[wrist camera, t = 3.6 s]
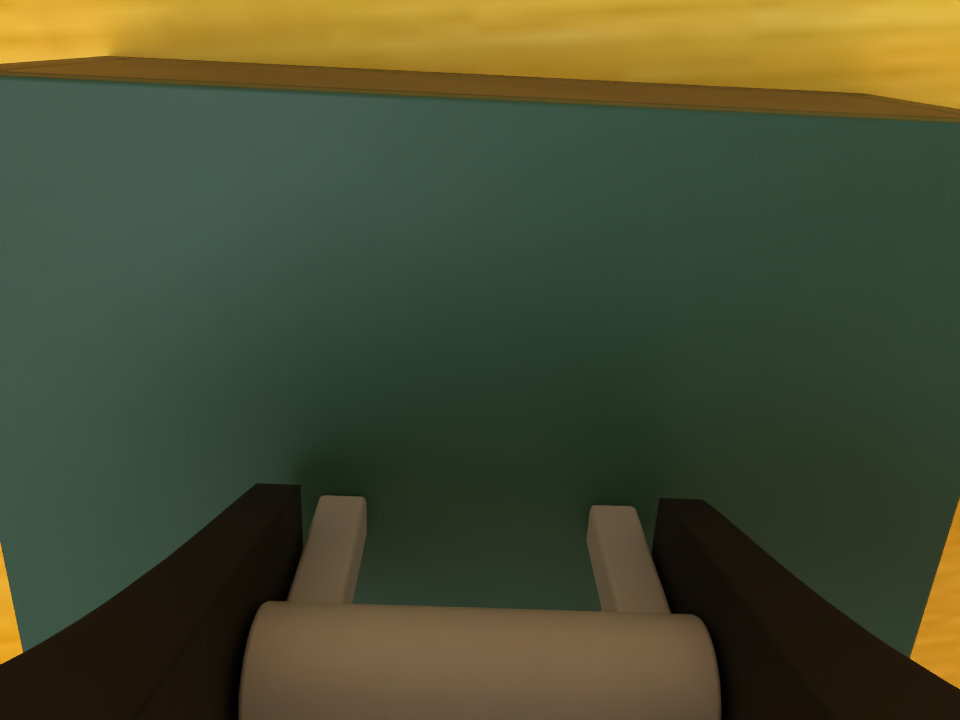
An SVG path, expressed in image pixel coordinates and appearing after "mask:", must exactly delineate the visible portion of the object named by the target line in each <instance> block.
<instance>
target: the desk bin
mask: <svg viewBox="0 0 960 720" xmlns="http://www.w3.org/2000/svg"><path fill="white" fill-rule="evenodd" d="M0 72H9V73H29V74H50V75H70V76H90V77H111V78H131V79H152V80H172V81H192V82H213V83H233V84H254V85H274V86H295V87H315V88H335V89H356V90H376V91H397V92H417V93H438V94H458V95H478V96H499V97H519V98H540V99H560V100H581V101H601V102H621V103H642V104H662V105H683V106H703V107H724V108H744V109H764V110H785V111H805V112H826V113H846V114H867V115H887V116H907V117H928V118H948V119H960V109H954V108H948V107H942V106H936V105H930V104H924V103H918V102H912V101H905V100H899V99H893V98H887V97H881V96H876V95H870V94H861V93H841V92H821V91H801V90H780V89H760V88H740V87H720V86H700V85H680V84H660V83H639V82H619V81H599V80H579V79H559V78H539V77H519V76H498V75H478V74H458V73H438V72H418V71H398V70H378V69H358V68H337V67H317V66H297V65H277V64H257V63H237V62H217V61H196V60H176V59H156V58H136V57H116V56H100V57H88V58H74V59H61V60H47V61H34V62H20V63H7V64H0Z"/></svg>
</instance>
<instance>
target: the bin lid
mask: <svg viewBox="0 0 960 720" xmlns="http://www.w3.org/2000/svg"><path fill="white" fill-rule="evenodd" d="M256 483H267V484H294V485H301V501H302V526H303V551H302V554H301V557H300V560H299V563H298V566H297V570H296V573H295V576H294V579H293V582H292V585H291V588H290V591H289V594H288V597H287V601H268V602H265V603H263V604H262V605H261V606H260V607H259V609H258V611H257V613H256V615H255V617H254V619H253V622H252V625H251V628H250V631H249V634H248V638H247V642H246V646H245V651H244V656H243V662H242V669H241V676H240V685H239V698H238V720H721V712H722V704H721V685H720V676H719V669H718V663H717V658H716V654H715V650H714V646H713V643H712V640H711V637H710V634H709V632H708V629H707V627H706V625H705V624H704V622H703V621H702V620H701V619H700V618H699V617H697V616H695V615H692V614H671V611H670V608H669V605H668V602H667V599H666V596H665V593H664V590H663V587H662V584H661V582H660V579H659V576H658V573H657V570H656V567H655V564H654V561H653V558H652V555H651V551H652V544H653V538H654V531H655V524H656V518H657V511H658V505H659V498H679V499H703V500H704V501H706V502H707V503H708V504H710V505H711V506H712V507H714V508H715V509H716V510H717V511H719V512H720V513H721V514H722V515H723V516H725V517H726V518H727V519H728V520H729V521H730V522H732V523H733V524H734V525H735V526H736V527H738V528H739V529H740V530H741V531H742V532H743V533H745V534H746V535H747V536H748V537H749V538H750V539H752V540H753V541H754V542H755V543H756V544H757V545H759V546H760V547H761V548H762V549H763V550H764V551H766V552H767V553H768V554H769V555H770V556H772V557H773V558H774V559H775V560H776V561H778V562H779V563H780V564H781V565H782V566H784V567H785V568H786V569H787V570H788V571H790V572H791V573H792V574H793V575H795V576H796V577H797V578H798V579H800V580H801V581H802V582H803V583H805V584H806V585H807V586H808V587H810V588H811V589H812V590H813V591H815V592H816V593H817V594H819V595H820V596H821V597H822V598H824V599H825V600H826V601H828V602H829V603H830V604H832V605H833V606H834V607H836V608H837V609H838V610H840V611H841V612H843V613H844V614H845V615H847V616H848V617H849V618H851V619H852V620H854V621H855V622H856V623H858V624H859V625H860V626H862V627H863V628H864V629H866V630H867V631H869V632H870V633H871V634H873V635H874V636H876V637H877V638H879V639H880V640H882V641H883V642H885V643H886V644H888V645H889V646H891V647H892V648H894V649H895V650H897V651H898V652H900V653H902V654H903V655H905V656H906V657H908V658H910V655H911V652H912V649H913V646H914V643H915V639H916V636H917V633H918V630H919V626H920V623H921V620H922V617H923V614H924V610H925V607H926V604H927V601H928V598H929V594H930V591H931V588H932V585H933V581H934V578H935V575H936V572H937V569H938V565H939V562H940V559H941V556H942V553H943V549H944V546H945V543H946V540H947V537H948V533H949V530H950V527H951V524H952V520H953V517H954V514H955V511H956V508H957V504H958V501H959V498H960V119H948V118H928V117H907V116H887V115H867V114H846V113H826V112H805V111H785V110H764V109H744V108H724V107H703V106H683V105H662V104H642V103H621V102H601V101H581V100H560V99H540V98H519V97H499V96H478V95H458V94H438V93H417V92H397V91H376V90H356V89H335V88H315V87H295V86H274V85H254V84H233V83H213V82H192V81H172V80H152V79H131V78H111V77H90V76H70V75H50V74H29V73H9V72H0V542H1V547H2V552H3V557H4V561H5V566H6V571H7V576H8V581H9V586H10V591H11V595H12V600H13V605H14V610H15V615H16V620H17V624H18V629H19V634H20V639H21V644H22V649H23V653H24V652H25V651H27V650H29V649H31V648H33V647H34V646H36V645H38V644H39V643H41V642H43V641H44V640H46V639H48V638H49V637H51V636H53V635H54V634H56V633H58V632H59V631H61V630H63V629H64V628H66V627H68V626H69V625H71V624H73V623H74V622H76V621H77V620H79V619H81V618H82V617H84V616H85V615H87V614H88V613H90V612H91V611H93V610H95V609H96V608H98V607H99V606H101V605H102V604H104V603H105V602H106V601H108V600H109V599H111V598H112V597H114V596H115V595H116V594H118V593H119V592H120V591H122V590H123V589H125V588H126V587H127V586H129V585H130V584H131V583H133V582H134V581H135V580H137V579H138V578H140V577H141V576H142V575H144V574H145V573H146V572H148V571H149V570H151V569H152V568H153V567H155V566H156V565H157V564H159V563H160V562H161V561H163V560H164V559H166V558H167V557H168V556H169V555H171V554H172V553H173V552H174V551H176V550H177V549H178V548H179V547H180V546H182V545H183V544H184V543H185V542H187V541H188V540H189V539H190V538H192V537H193V536H194V535H195V534H196V533H198V532H199V531H200V530H201V529H202V528H204V527H205V526H206V525H207V524H208V523H210V522H211V521H212V520H213V519H214V518H216V517H217V516H218V515H219V514H220V513H221V512H223V511H224V510H225V509H226V508H227V507H229V506H230V505H231V504H232V503H233V502H234V501H236V500H237V499H238V498H239V497H240V496H242V495H243V494H244V493H245V492H246V491H247V490H249V489H250V488H251V487H253V486H254V485H255V484H256Z"/></svg>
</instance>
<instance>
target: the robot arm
mask: <svg viewBox="0 0 960 720" xmlns="http://www.w3.org/2000/svg"><path fill="white" fill-rule="evenodd" d="M302 551H303V526H302V501H301V485H294V484H267V483H256V484H255V485H254V486H253V487H251V488H250V489H249V490H247V491H246V492H245V493H244V494H243V495H242V496H240V497H239V498H238V499H237V500H236V501H234V502H233V503H232V504H231V505H230V506H229V507H227V508H226V509H225V510H224V511H223V512H221V513H220V514H219V515H218V516H217V517H216V518H214V519H213V520H212V521H211V522H210V523H208V524H207V525H206V526H205V527H204V528H202V529H201V530H200V531H199V532H198V533H196V534H195V535H194V536H193V537H192V538H190V539H189V540H188V541H187V542H185V543H184V544H183V545H182V546H180V547H179V548H178V549H177V550H176V551H174V552H173V553H172V554H171V555H169V556H168V557H167V558H166V559H164V560H163V561H161V562H160V563H159V564H157V565H156V566H155V567H153V568H152V569H151V570H149V571H148V572H146V573H145V574H144V575H142V576H141V577H140V578H138V579H137V580H135V581H134V582H133V583H131V584H130V585H129V586H127V587H126V588H125V589H123V590H122V591H120V592H119V593H118V594H116V595H115V596H114V597H112V598H111V599H109V600H108V601H106V602H105V603H104V604H102V605H101V606H99V607H98V608H96V609H95V610H93V611H91V612H90V613H88V614H87V615H85V616H84V617H82V618H81V619H79V620H77V621H76V622H74V623H73V624H71V625H69V626H68V627H66V628H64V629H63V630H61V631H59V632H58V633H56V634H54V635H53V636H51V637H49V638H48V639H46V640H44V641H43V642H41V643H39V644H38V645H36V646H34V647H33V648H31V649H29V650H27V651H25V652H24V653H22V654H20V655H18V656H16V657H14V658H12V659H10V660H9V661H7V662H5V663H3V664H1V665H0V720H238V698H239V685H240V676H241V669H242V662H243V656H244V651H245V646H246V642H247V638H248V634H249V631H250V628H251V625H252V622H253V619H254V617H255V615H256V613H257V611H258V609H259V607H260V606H261V605H262V604H263V603H265V602H268V601H287V597H288V594H289V591H290V588H291V585H292V582H293V579H294V576H295V573H296V570H297V566H298V563H299V560H300V557H301V554H302ZM651 555H652V558H653V561H654V564H655V567H656V570H657V573H658V576H659V579H660V582H661V584H662V587H663V590H664V593H665V596H666V599H667V602H668V605H669V608H670V611H671V614H692V615H695V616H697V617H699V618H700V619H701V620H702V621H703V622H704V624H705V625H706V627H707V629H708V632H709V634H710V637H711V640H712V643H713V646H714V650H715V654H716V658H717V663H718V669H719V676H720V685H721V704H722V712H721V720H960V689H958V688H957V687H955V686H953V685H951V684H950V683H948V682H946V681H945V680H943V679H941V678H940V677H938V676H937V675H935V674H933V673H932V672H930V671H929V670H927V669H925V668H924V667H922V666H921V665H919V664H917V663H916V662H914V661H913V660H911V659H910V658H908V657H906V656H905V655H903V654H902V653H900V652H898V651H897V650H895V649H894V648H892V647H891V646H889V645H888V644H886V643H885V642H883V641H882V640H880V639H879V638H877V637H876V636H874V635H873V634H871V633H870V632H869V631H867V630H866V629H864V628H863V627H862V626H860V625H859V624H858V623H856V622H855V621H854V620H852V619H851V618H849V617H848V616H847V615H845V614H844V613H843V612H841V611H840V610H838V609H837V608H836V607H834V606H833V605H832V604H830V603H829V602H828V601H826V600H825V599H824V598H822V597H821V596H820V595H819V594H817V593H816V592H815V591H813V590H812V589H811V588H810V587H808V586H807V585H806V584H805V583H803V582H802V581H801V580H800V579H798V578H797V577H796V576H795V575H793V574H792V573H791V572H790V571H788V570H787V569H786V568H785V567H784V566H782V565H781V564H780V563H779V562H778V561H776V560H775V559H774V558H773V557H772V556H770V555H769V554H768V553H767V552H766V551H764V550H763V549H762V548H761V547H760V546H759V545H757V544H756V543H755V542H754V541H753V540H752V539H750V538H749V537H748V536H747V535H746V534H745V533H743V532H742V531H741V530H740V529H739V528H738V527H736V526H735V525H734V524H733V523H732V522H730V521H729V520H728V519H727V518H726V517H725V516H723V515H722V514H721V513H720V512H719V511H717V510H716V509H715V508H714V507H712V506H711V505H710V504H708V503H707V502H706V501H704V500H703V499H679V498H659V505H658V511H657V518H656V524H655V531H654V538H653V544H652V551H651Z"/></svg>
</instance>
